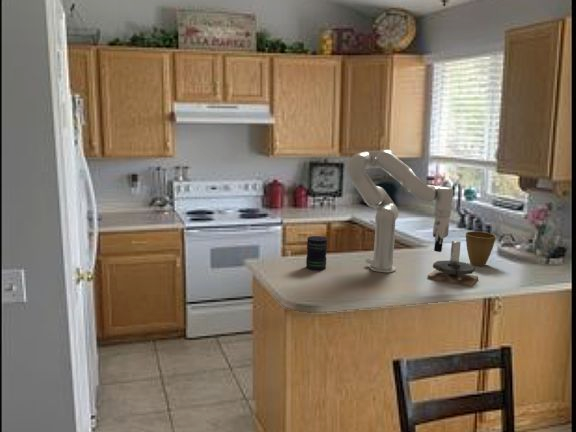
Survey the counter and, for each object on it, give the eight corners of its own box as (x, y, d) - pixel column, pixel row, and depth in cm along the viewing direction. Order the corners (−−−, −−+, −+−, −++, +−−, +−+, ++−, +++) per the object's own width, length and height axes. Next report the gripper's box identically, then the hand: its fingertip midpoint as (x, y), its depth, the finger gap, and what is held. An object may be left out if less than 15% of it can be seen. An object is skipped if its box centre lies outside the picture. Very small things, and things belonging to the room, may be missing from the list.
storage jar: (302, 266, 278) (303, 236, 275) (319, 264, 282) (320, 235, 280) (312, 271, 269) (313, 241, 267) (329, 269, 274) (331, 239, 271)
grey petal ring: (429, 269, 262) (429, 266, 262) (440, 261, 278) (440, 258, 277) (468, 276, 253) (468, 273, 253) (477, 268, 268) (478, 264, 268)
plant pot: (457, 261, 300) (459, 231, 297) (480, 259, 304) (483, 231, 301) (474, 268, 286) (477, 238, 283) (498, 267, 290) (502, 237, 288)
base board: (427, 278, 266) (427, 275, 265) (436, 271, 277) (436, 268, 277) (470, 286, 255) (470, 283, 255) (478, 279, 267) (478, 276, 267)
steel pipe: (447, 276, 265) (450, 241, 262) (449, 273, 269) (452, 240, 266) (456, 277, 263) (459, 243, 260) (459, 275, 267) (462, 241, 264)
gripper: (445, 216, 256) (440, 255, 260) (454, 212, 269) (450, 250, 273) (429, 214, 260) (425, 252, 264) (439, 210, 273) (434, 247, 276)
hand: (437, 251), depth 268 cm, fingers closed
